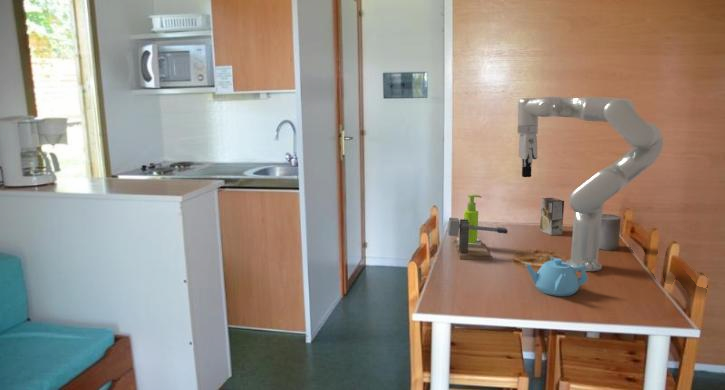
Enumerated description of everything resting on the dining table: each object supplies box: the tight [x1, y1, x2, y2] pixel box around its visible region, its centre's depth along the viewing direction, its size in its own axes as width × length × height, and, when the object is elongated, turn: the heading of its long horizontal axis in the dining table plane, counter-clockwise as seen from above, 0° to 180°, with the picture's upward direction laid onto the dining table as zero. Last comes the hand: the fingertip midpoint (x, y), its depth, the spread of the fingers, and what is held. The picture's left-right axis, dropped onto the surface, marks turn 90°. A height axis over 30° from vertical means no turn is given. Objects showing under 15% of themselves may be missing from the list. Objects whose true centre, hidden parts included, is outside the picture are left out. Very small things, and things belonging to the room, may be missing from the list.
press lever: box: [446, 217, 509, 237], centre depth 215 cm, size 6×23×6 cm, turn 86°
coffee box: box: [539, 197, 565, 236], centre depth 253 cm, size 9×6×16 cm
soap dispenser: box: [463, 194, 482, 243], centre depth 228 cm, size 6×7×20 cm
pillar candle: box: [599, 213, 621, 251], centre depth 228 cm, size 10×10×15 cm
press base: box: [452, 218, 491, 261], centre depth 223 cm, size 24×12×14 cm, turn 177°
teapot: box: [525, 256, 589, 297], centre depth 179 cm, size 15×15×11 cm
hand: (526, 176), depth 212 cm, fingers closed
